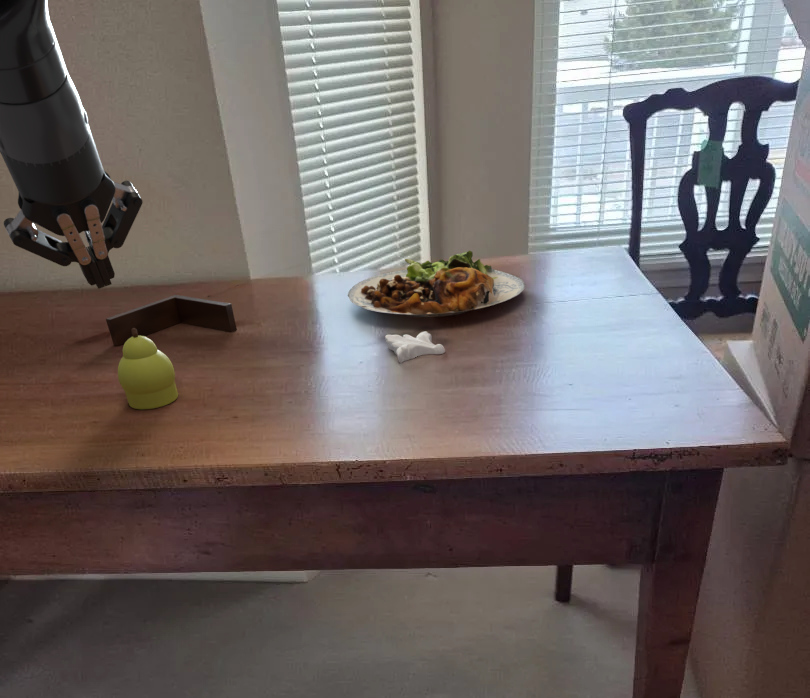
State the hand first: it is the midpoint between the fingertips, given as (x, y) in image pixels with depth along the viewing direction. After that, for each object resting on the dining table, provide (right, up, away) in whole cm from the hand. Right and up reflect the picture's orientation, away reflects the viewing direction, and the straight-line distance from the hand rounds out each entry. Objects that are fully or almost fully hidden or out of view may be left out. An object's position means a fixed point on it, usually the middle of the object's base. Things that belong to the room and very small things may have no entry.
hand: (101, 281), depth 76 cm
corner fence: (-3, +4, +35) cm, 36 cm away
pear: (0, -10, +15) cm, 17 cm away
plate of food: (+37, +11, +40) cm, 56 cm away
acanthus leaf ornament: (+33, -2, +22) cm, 40 cm away
